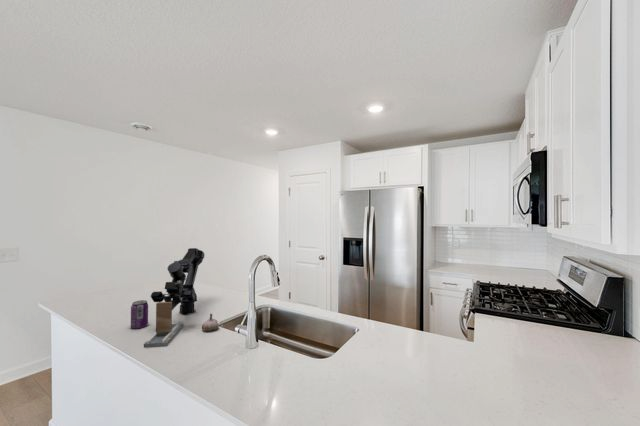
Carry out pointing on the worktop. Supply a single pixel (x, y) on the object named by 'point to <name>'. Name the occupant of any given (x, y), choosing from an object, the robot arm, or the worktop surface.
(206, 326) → the garlic bulb
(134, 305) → the beverage can
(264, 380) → the worktop surface
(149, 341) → the fader track
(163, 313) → the fader handle
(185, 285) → the robot arm
